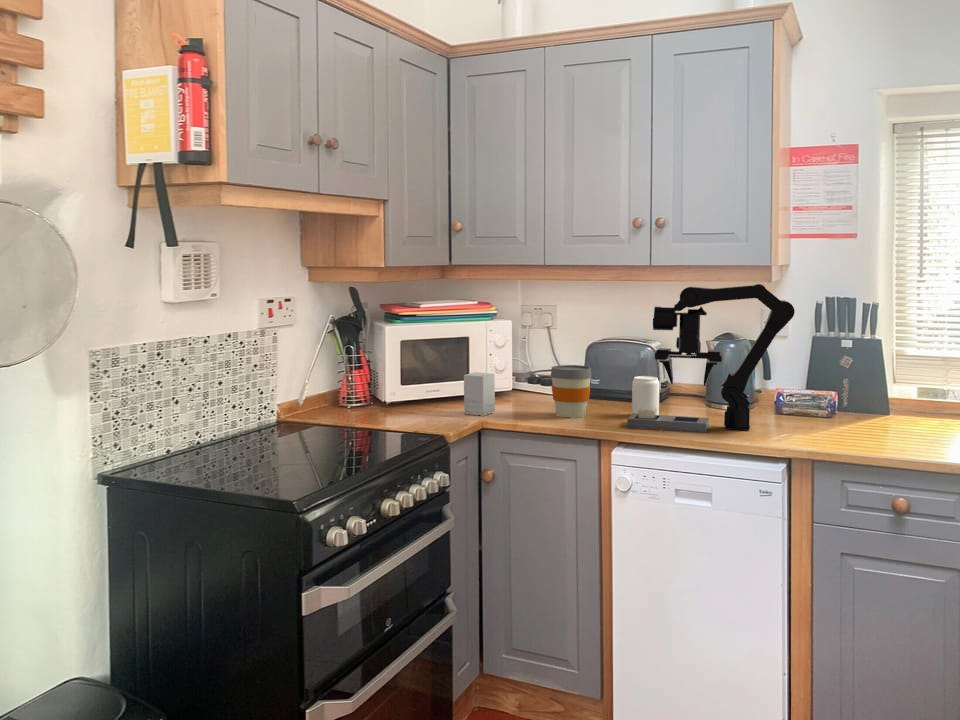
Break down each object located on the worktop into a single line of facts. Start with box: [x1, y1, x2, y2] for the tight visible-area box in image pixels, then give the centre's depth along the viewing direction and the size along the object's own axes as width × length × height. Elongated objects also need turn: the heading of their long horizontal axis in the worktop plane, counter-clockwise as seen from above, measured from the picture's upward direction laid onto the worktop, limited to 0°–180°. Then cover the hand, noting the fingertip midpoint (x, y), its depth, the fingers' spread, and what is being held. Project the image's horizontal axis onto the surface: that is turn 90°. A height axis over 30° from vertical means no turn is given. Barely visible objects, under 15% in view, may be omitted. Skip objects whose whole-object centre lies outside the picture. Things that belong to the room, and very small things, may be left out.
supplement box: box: [463, 372, 496, 417], centre depth 265 cm, size 7×7×13 cm
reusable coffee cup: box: [550, 364, 593, 418], centre depth 261 cm, size 13×13×15 cm
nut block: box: [638, 407, 657, 420], centre depth 244 cm, size 4×4×5 cm
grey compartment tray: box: [626, 413, 710, 433], centre depth 243 cm, size 22×9×2 cm, turn 69°
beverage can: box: [631, 375, 660, 415], centre depth 259 cm, size 8×8×12 cm
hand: (688, 384), depth 243 cm, fingers open, 9 cm apart
